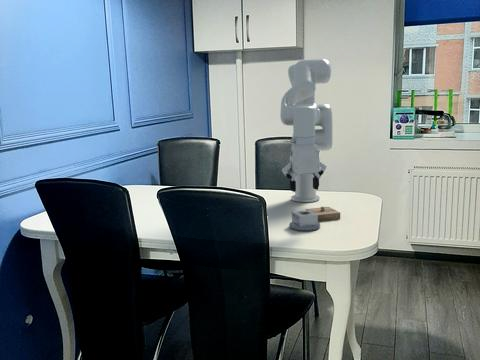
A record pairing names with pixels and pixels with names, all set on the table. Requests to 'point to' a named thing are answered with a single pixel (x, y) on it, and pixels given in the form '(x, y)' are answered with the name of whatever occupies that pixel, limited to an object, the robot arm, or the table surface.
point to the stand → (326, 213)
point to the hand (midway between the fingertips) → (304, 189)
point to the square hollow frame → (304, 218)
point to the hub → (304, 229)
